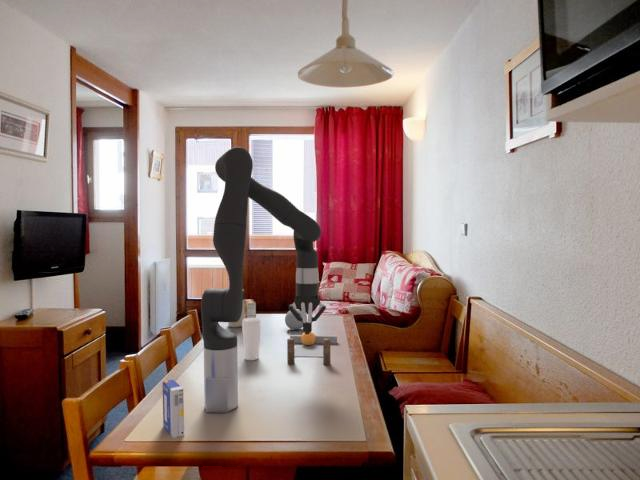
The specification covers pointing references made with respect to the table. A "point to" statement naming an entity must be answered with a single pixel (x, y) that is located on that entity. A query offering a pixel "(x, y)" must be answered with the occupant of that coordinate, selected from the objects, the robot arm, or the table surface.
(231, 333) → the robot arm
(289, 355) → the post left
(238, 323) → the travel mug
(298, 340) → the gray bar
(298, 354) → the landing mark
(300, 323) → the decorative stone
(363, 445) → the table surface
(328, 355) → the post right
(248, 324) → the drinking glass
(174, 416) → the blue and white carton
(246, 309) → the candy box
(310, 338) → the ball
